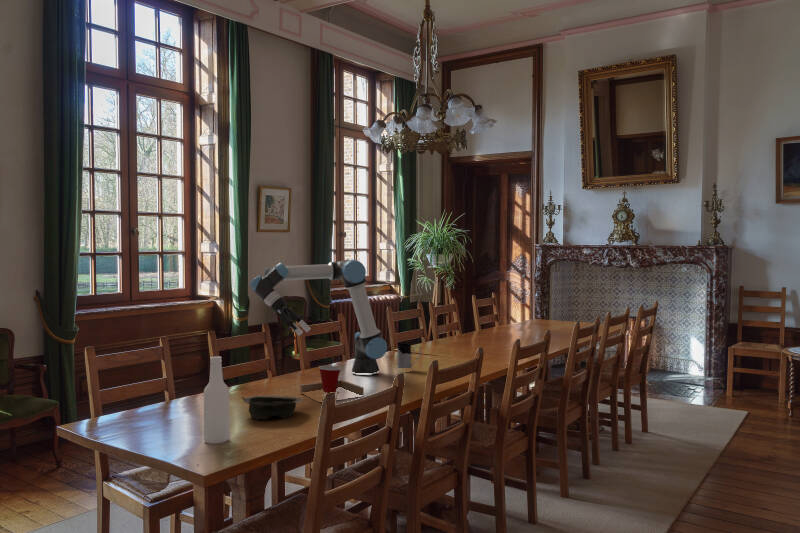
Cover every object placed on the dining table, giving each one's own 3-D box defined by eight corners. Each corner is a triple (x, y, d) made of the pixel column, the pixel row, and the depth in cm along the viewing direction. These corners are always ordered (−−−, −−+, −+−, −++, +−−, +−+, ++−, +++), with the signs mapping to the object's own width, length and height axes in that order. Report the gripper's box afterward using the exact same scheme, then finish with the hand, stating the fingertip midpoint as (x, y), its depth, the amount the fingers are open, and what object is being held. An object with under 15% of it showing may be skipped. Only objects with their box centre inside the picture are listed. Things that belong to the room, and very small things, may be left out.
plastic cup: (344, 393, 298) (344, 367, 298) (322, 395, 294) (322, 369, 293) (337, 388, 308) (337, 363, 308) (315, 390, 304) (315, 365, 303)
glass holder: (394, 370, 361) (394, 343, 361) (418, 368, 366) (418, 342, 365) (399, 372, 353) (399, 346, 353) (423, 371, 357) (423, 344, 357)
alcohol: (232, 437, 232) (231, 354, 231) (226, 444, 223) (225, 358, 222) (207, 437, 232) (206, 355, 231) (201, 444, 223) (199, 359, 222)
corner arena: (341, 388, 313) (341, 379, 313) (363, 397, 295) (363, 387, 294) (300, 394, 301) (300, 384, 301) (320, 403, 283) (320, 393, 283)
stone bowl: (243, 425, 247) (243, 401, 247) (242, 414, 271) (241, 392, 271) (307, 419, 253) (306, 396, 254) (300, 409, 277) (299, 388, 278)
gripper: (278, 305, 329) (306, 334, 327) (261, 309, 304) (292, 341, 303) (288, 294, 328) (316, 324, 327) (272, 298, 303) (303, 330, 302)
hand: (305, 332), depth 315 cm, fingers open, 13 cm apart
